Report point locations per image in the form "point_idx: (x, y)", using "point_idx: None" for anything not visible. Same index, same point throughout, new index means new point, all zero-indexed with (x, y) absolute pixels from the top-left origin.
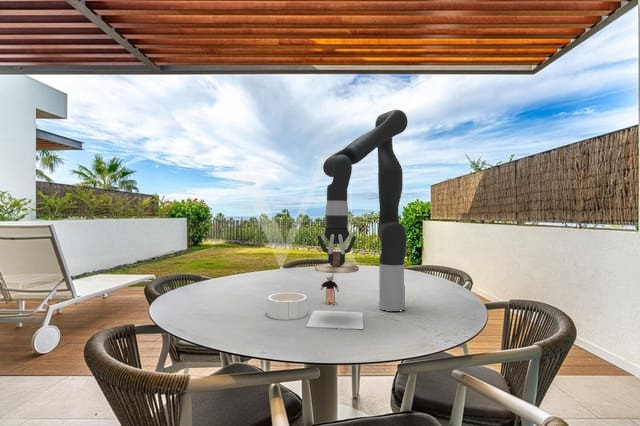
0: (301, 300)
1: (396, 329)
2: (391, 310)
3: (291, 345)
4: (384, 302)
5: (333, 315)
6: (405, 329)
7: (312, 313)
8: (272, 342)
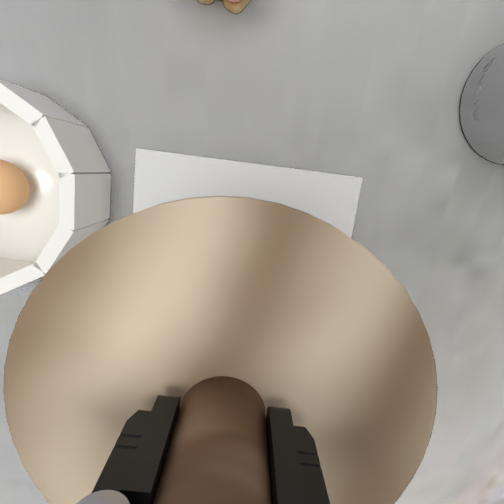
0: (56, 258)
1: (436, 370)
2: (502, 163)
3: None
4: (498, 143)
5: None
6: (467, 369)
7: (135, 198)
8: None
